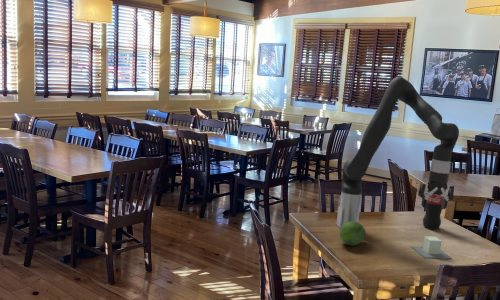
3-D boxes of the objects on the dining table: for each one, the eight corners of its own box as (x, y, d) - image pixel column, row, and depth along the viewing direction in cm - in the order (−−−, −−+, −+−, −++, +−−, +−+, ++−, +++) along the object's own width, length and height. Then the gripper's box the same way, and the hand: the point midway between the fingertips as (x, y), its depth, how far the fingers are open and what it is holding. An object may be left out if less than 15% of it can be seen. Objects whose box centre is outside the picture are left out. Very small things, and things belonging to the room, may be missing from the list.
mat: (424, 258, 197) (424, 257, 197) (411, 247, 209) (411, 246, 209) (451, 258, 199) (451, 257, 199) (437, 248, 210) (437, 247, 210)
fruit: (350, 236, 216) (352, 215, 215) (370, 243, 210) (373, 221, 209) (333, 244, 205) (336, 221, 203) (354, 251, 199) (357, 228, 197)
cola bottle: (419, 224, 244) (427, 166, 239) (435, 225, 245) (443, 167, 240) (426, 229, 236) (435, 170, 231) (443, 230, 236) (452, 171, 232)
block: (428, 254, 201) (430, 240, 200) (422, 249, 206) (424, 236, 205) (439, 254, 202) (441, 240, 201) (433, 250, 206) (435, 236, 205)
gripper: (427, 171, 195) (421, 209, 198) (460, 173, 197) (454, 211, 199) (419, 167, 202) (413, 204, 205) (451, 170, 204) (445, 206, 207)
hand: (433, 208), depth 202 cm, fingers open, 8 cm apart
